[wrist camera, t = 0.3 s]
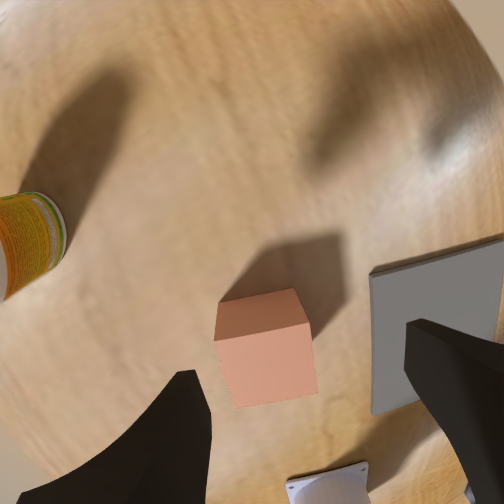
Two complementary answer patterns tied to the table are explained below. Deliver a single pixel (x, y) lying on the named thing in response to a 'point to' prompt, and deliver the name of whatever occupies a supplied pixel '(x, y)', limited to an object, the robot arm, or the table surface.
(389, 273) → the mat
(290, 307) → the cube
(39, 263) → the supplement bottle
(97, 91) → the table surface
